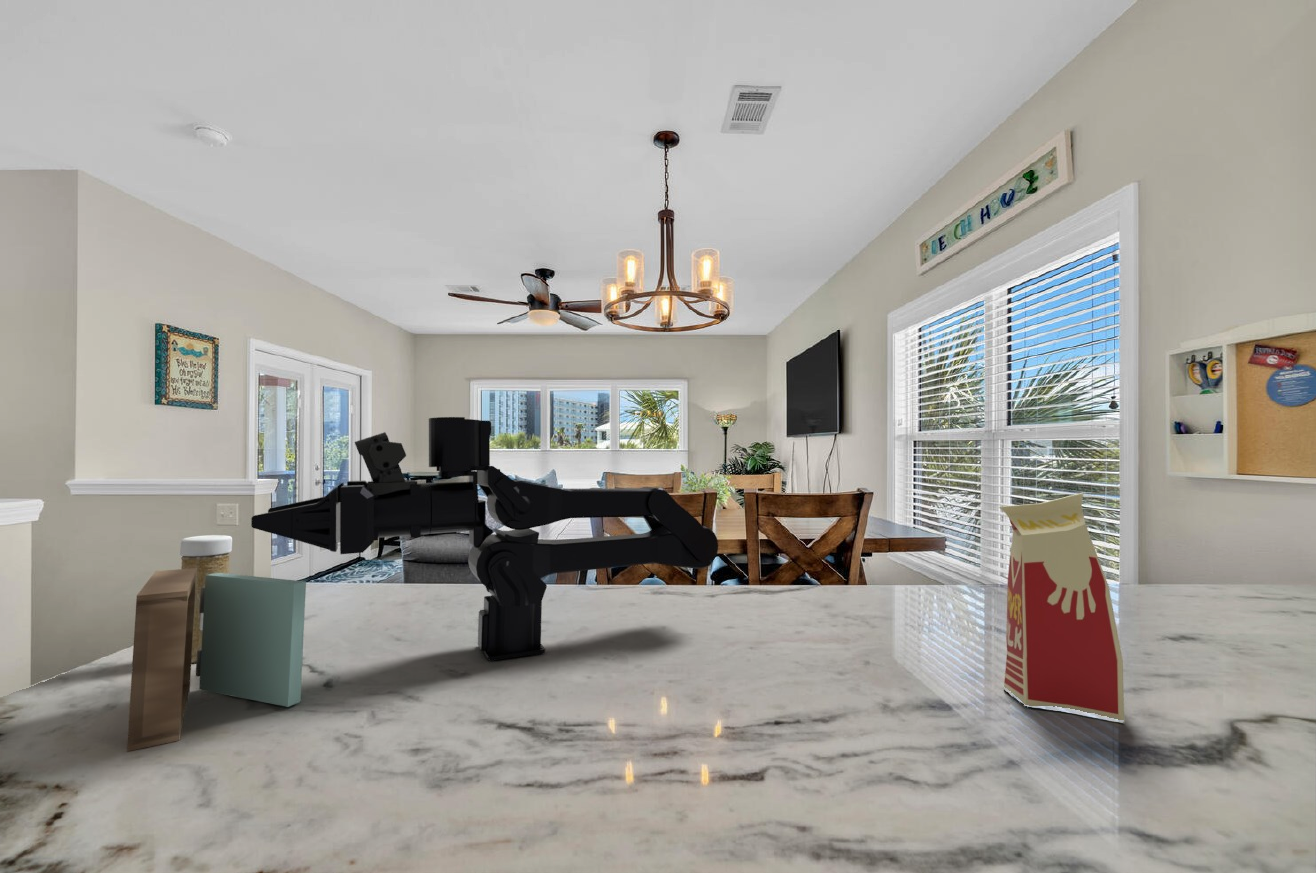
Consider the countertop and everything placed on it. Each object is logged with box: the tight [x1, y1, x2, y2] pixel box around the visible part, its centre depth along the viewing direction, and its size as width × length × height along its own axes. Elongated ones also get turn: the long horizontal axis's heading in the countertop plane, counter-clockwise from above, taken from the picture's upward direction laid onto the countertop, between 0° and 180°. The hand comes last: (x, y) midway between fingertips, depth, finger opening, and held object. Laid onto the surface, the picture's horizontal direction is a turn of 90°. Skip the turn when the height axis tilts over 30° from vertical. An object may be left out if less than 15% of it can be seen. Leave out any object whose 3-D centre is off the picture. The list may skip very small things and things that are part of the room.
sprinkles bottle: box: [179, 534, 233, 664], centre depth 63 cm, size 5×5×13 cm
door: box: [195, 573, 307, 708], centre depth 52 cm, size 1×12×11 cm, turn 72°
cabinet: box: [126, 568, 197, 752], centre depth 48 cm, size 3×12×12 cm, turn 37°
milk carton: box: [998, 492, 1125, 721], centre depth 55 cm, size 9×9×20 cm
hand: (260, 517), depth 56 cm, fingers open, 9 cm apart
